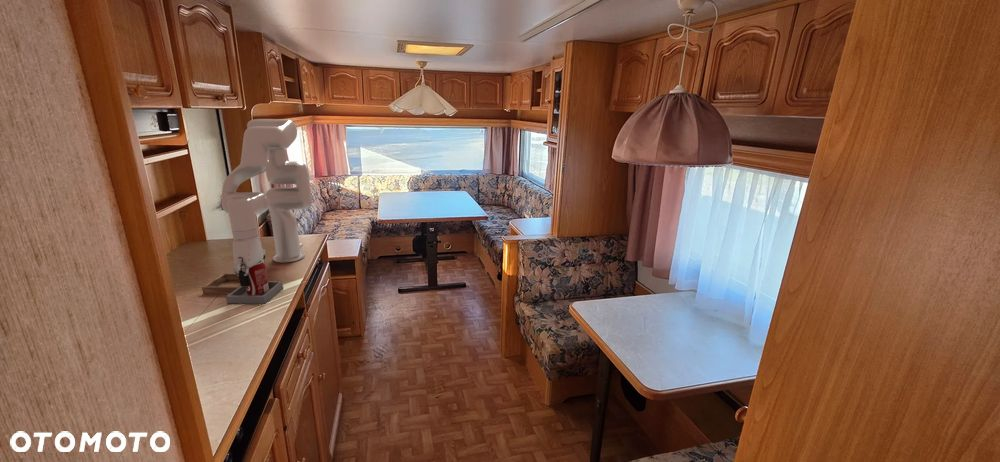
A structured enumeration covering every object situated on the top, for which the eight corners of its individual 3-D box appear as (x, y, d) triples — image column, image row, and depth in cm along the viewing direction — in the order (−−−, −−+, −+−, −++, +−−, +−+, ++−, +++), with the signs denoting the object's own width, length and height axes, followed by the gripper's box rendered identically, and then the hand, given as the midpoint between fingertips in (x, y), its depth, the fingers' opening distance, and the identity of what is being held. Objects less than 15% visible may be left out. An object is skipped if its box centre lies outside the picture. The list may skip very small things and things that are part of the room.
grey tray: (248, 288, 149) (247, 281, 148) (283, 288, 149) (282, 281, 148) (227, 304, 137) (226, 296, 136) (265, 304, 137) (263, 296, 136)
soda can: (273, 289, 147) (268, 259, 143) (260, 298, 141) (255, 266, 137) (256, 288, 148) (251, 258, 144) (243, 296, 141) (237, 265, 138)
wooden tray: (225, 279, 156) (224, 273, 156) (258, 279, 157) (257, 273, 156) (203, 293, 144) (201, 287, 144) (239, 294, 145) (237, 287, 144)
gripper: (249, 226, 144) (256, 270, 149) (217, 241, 128) (227, 290, 133) (270, 226, 145) (277, 270, 150) (241, 241, 128) (250, 290, 133)
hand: (253, 280), depth 141 cm, fingers open, 9 cm apart
